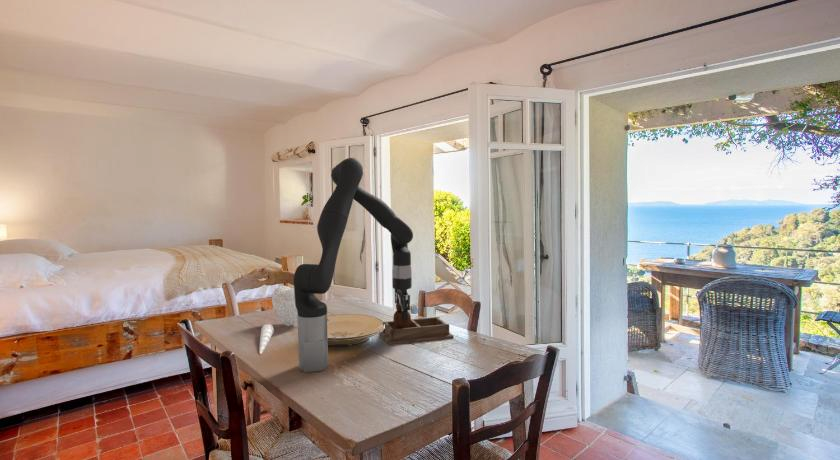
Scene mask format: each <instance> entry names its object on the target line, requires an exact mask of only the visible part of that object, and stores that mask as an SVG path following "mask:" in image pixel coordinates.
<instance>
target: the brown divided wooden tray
mask: <svg viewBox="0 0 840 460" xmlns="http://www.w3.org/2000/svg"><path fill="white" fill-rule="evenodd" d="M384 324H385V329H384V330H383V329H382V330H383V331H382V332H381V333H380V332H379V334H380V335H381V337H382V338H383V339H384V341H385V342H386V343H387V345H388V346H394V345H406V344H412V343H413V344H414V343H422V342H433V341H440V340H441V341H442V340H450V339H449V338H451V339H454V338H455V337H454V335H453V334H452V333H451V332H450V323H447V322H445V321H444V320H442V319H441V318H440V317H439V316H434V317H424V318H411V322H410V326H409V328H401V329H396V327H395V325H394V320H388V321H383V322H382V326H383V325H384Z"/></svg>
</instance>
